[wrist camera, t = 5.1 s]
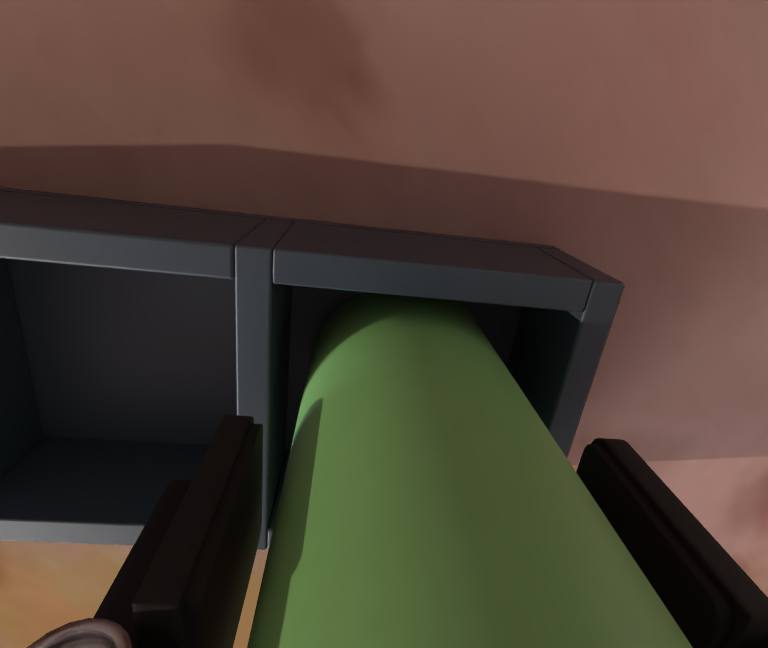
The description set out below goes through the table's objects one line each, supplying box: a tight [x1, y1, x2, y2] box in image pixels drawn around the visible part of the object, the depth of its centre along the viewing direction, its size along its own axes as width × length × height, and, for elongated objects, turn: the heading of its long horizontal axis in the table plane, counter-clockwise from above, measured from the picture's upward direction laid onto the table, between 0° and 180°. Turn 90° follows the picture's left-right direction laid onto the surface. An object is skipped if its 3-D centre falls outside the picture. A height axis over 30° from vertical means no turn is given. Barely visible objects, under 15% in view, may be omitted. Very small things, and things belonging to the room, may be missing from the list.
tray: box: [0, 187, 624, 550], centre depth 12 cm, size 25×9×4 cm, turn 83°
